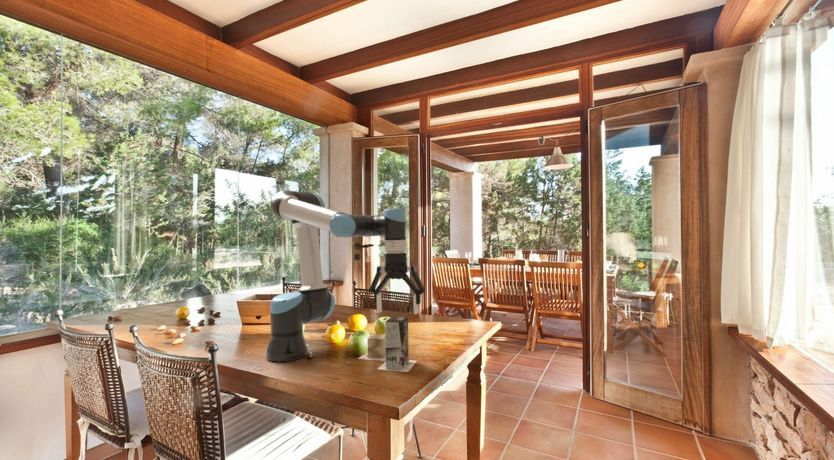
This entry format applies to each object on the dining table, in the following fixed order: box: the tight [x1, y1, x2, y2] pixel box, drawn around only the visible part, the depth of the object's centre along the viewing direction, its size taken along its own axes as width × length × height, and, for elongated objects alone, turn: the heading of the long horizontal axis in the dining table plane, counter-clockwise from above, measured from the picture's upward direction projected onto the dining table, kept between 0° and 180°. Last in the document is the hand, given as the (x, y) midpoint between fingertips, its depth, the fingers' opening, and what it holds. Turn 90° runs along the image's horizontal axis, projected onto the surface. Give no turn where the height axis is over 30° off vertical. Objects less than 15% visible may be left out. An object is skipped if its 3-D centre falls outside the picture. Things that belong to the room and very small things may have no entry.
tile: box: [377, 359, 418, 373], centre depth 130 cm, size 11×11×1 cm
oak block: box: [366, 333, 386, 358], centre depth 141 cm, size 6×6×7 cm
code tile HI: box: [357, 353, 386, 362], centre depth 141 cm, size 11×11×1 cm
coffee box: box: [384, 315, 410, 370], centre depth 130 cm, size 9×6×16 cm
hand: (397, 313), depth 130 cm, fingers open, 13 cm apart
